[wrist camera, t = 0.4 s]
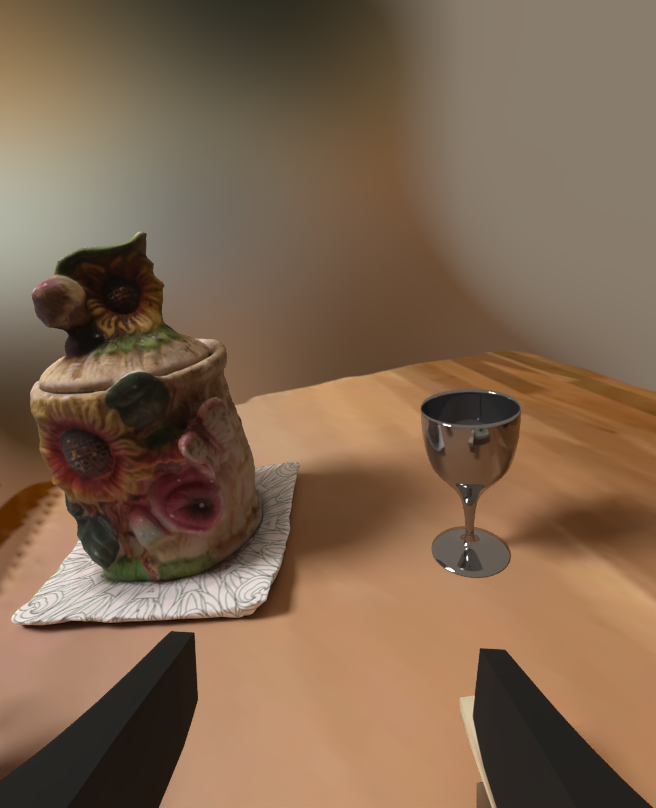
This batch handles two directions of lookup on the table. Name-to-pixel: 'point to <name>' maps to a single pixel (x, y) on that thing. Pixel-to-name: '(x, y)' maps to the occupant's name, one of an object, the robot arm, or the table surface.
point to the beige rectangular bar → (474, 740)
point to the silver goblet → (470, 469)
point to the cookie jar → (148, 457)
